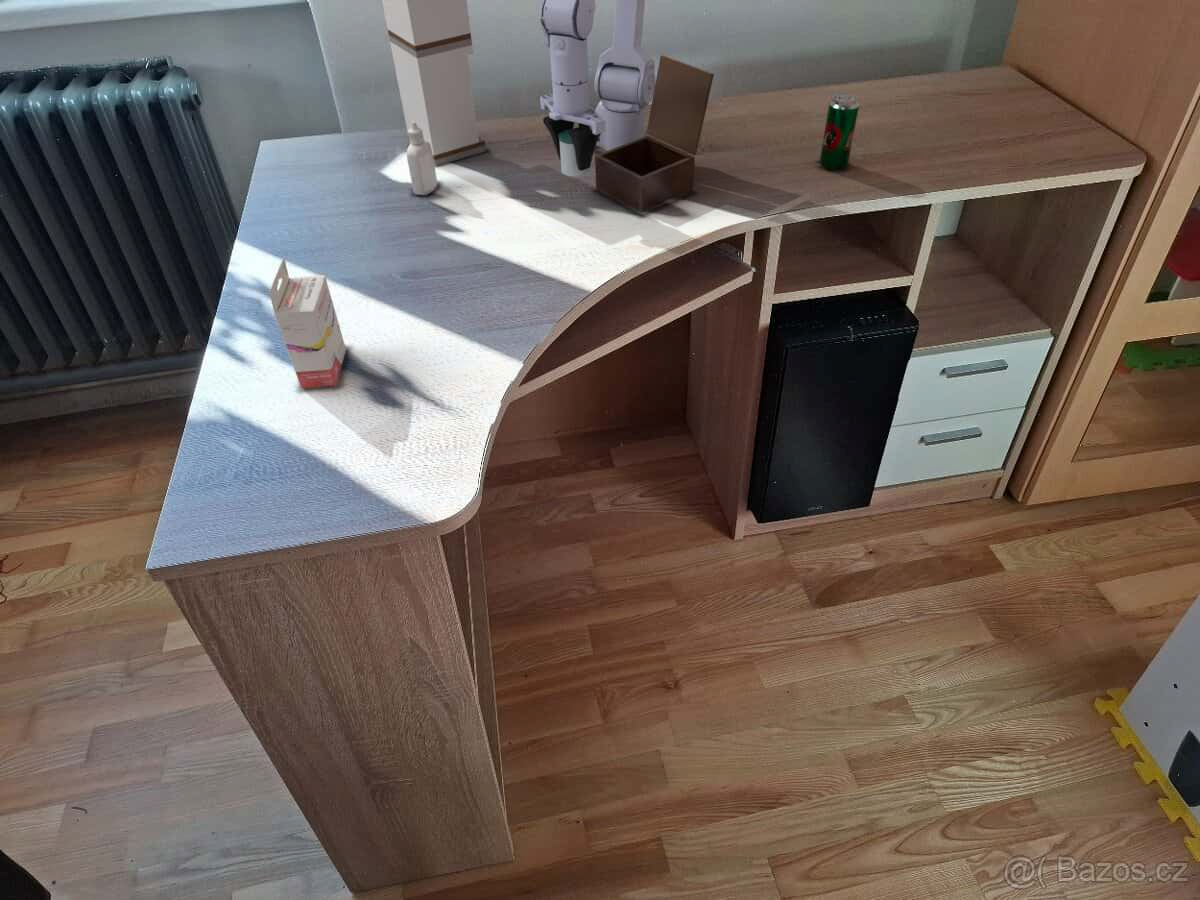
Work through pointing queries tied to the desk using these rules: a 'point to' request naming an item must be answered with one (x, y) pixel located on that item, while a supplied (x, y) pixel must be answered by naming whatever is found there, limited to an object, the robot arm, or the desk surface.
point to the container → (569, 156)
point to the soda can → (839, 131)
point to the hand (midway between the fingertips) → (574, 163)
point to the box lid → (679, 104)
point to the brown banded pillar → (435, 73)
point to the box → (644, 173)
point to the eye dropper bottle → (420, 162)
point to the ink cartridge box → (308, 327)
